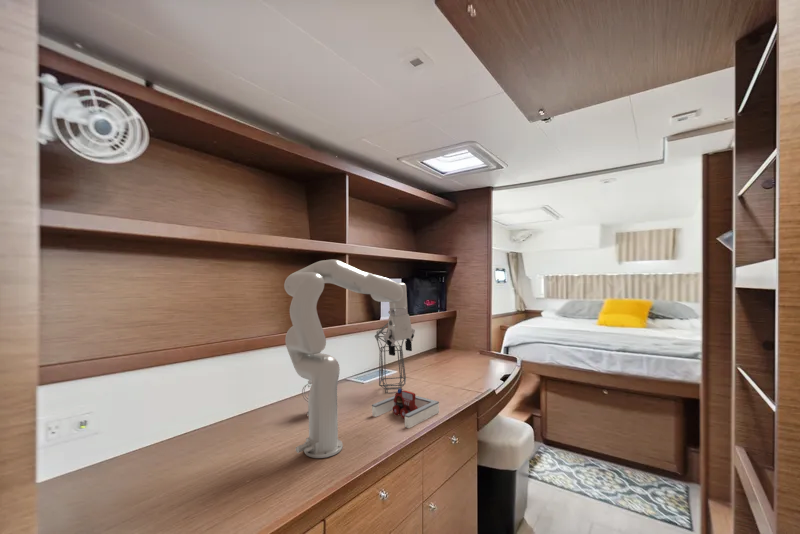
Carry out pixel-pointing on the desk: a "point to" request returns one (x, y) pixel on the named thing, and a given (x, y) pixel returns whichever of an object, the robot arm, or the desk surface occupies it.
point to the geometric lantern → (384, 363)
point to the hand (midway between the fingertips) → (400, 352)
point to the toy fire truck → (404, 403)
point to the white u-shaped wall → (423, 412)
